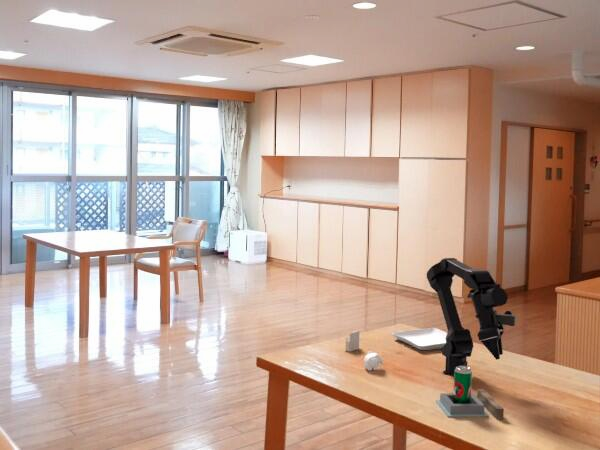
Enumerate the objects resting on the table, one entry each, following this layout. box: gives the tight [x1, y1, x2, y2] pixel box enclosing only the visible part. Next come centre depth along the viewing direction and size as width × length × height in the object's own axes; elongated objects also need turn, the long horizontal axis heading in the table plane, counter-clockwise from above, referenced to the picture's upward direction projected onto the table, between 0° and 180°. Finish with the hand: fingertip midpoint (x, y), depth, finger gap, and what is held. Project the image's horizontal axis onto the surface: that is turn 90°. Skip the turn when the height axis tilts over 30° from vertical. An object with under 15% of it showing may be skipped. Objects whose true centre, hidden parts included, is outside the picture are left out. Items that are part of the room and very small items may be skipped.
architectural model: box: [343, 330, 362, 352], centre depth 254 cm, size 3×7×7 cm, turn 136°
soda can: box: [453, 365, 473, 404], centre depth 195 cm, size 5×5×12 cm
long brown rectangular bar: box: [476, 388, 505, 420], centre depth 196 cm, size 16×2×3 cm, turn 5°
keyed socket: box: [435, 392, 489, 418], centre depth 195 cm, size 12×12×3 cm
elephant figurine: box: [362, 350, 384, 372], centre depth 230 cm, size 7×8×6 cm
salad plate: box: [391, 327, 448, 351], centre depth 264 cm, size 21×21×3 cm
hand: (499, 356), depth 209 cm, fingers open, 9 cm apart
